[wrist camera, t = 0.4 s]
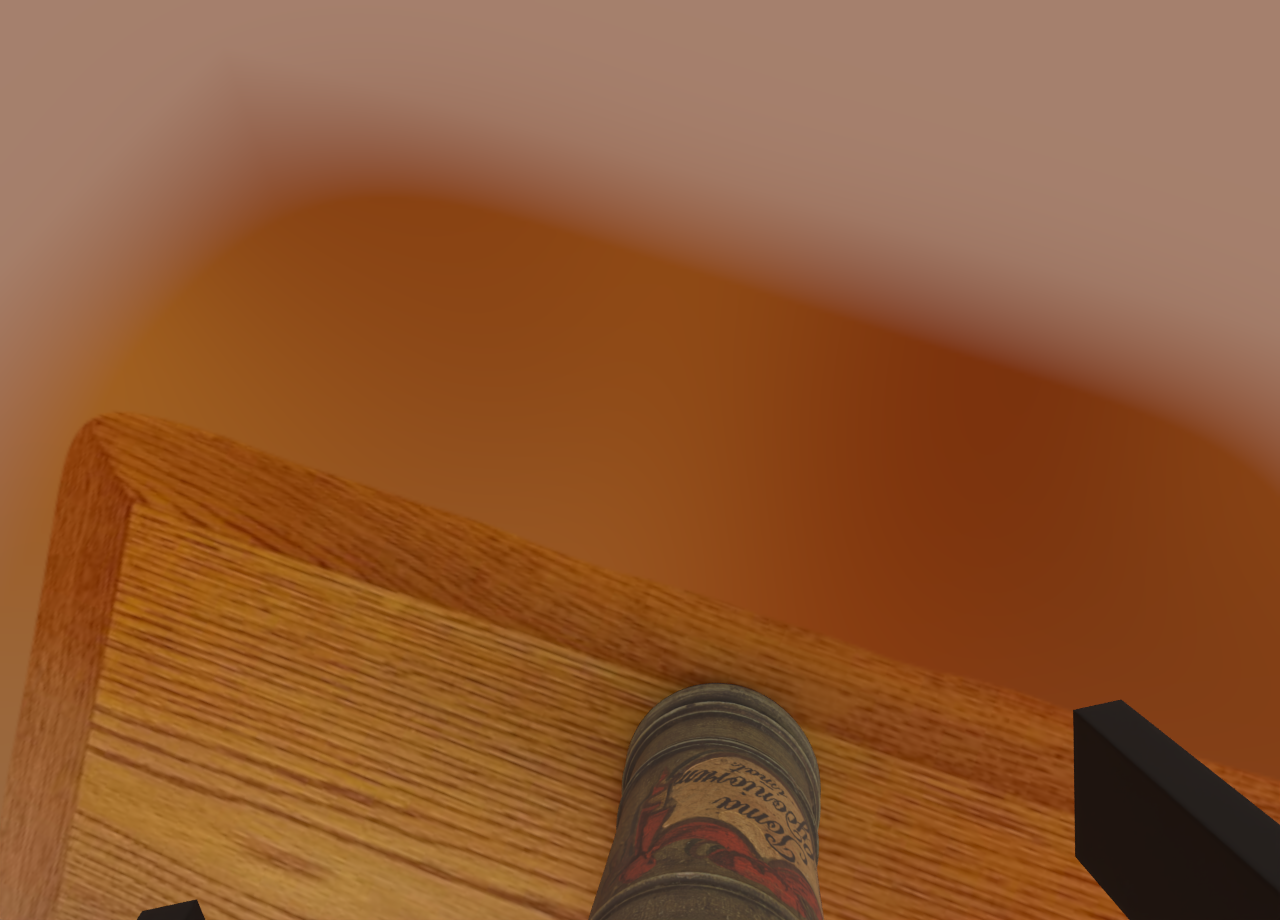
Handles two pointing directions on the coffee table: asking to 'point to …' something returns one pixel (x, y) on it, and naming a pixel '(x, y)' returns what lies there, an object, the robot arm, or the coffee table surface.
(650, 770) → the container
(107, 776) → the coffee table surface
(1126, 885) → the robot arm
